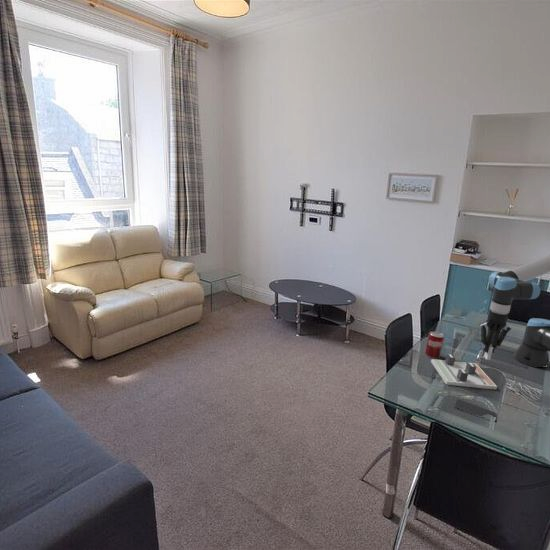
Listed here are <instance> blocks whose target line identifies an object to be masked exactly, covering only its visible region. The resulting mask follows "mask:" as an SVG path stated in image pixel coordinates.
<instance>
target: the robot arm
mask: <svg viewBox="0 0 550 550" xmlns="http://www.w3.org/2000/svg"><path fill="white" fill-rule="evenodd" d="M549 273H550V254H548V255H546V256H543V257H541V258H538V259H535V260H533V261H531V262H527V263H526V264H523V265H521V266H517V267H515V268H512V269H510V270H507V271H505V272H501V271H493V272H492V273H491V274H490V275H489V277H488V283H489V284H490V285H491V286H492V287H493V288H494V290H493V294H492V299H491V302H490V307H489V309H488V314H487V319H486V321H485V322H484V323H479V327H480V337H481V338H480V339H481V343H482V344H483V345H484V348H483V351H484V355H483V357H484V358H485V360H487V361H491V358H492V354H493V353H495V349H497V348H498V347H500V346H501V345H502V344H503V342H504V340H505V338H506V336H507V334H508V333H509V332H510V331H511V329H512V328H511V327H510V326H509V325H507V322H508V318H509V313H510V311H511V306H512V304H513V303H512V302H513V300H528V301H529V300H535V299H537V298H539V296H540V294H541V288H540V285H539V284H538V283H536V282H531V280H533V279H536V278H538V277H541V276H543V275H546V274H549ZM549 352H550V319H545V318H538V317H537V318H535V317H532V318H530V319H529V320H528V322H527V324H526V327H525V331H524V335H523V337H522V341H521V343H520V345H519V346H518V348H517V349H516V350H515V351H514V353H513V357H514V359H515V360H516V361H518V362H520V363H521V362H522V363H521V364H524V365H527V366H529V367H532V366H534V367H533V368H536V367H543V366H546V365H548V366H549V364H550V357H549Z"/></svg>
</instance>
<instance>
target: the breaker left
mask: <svg viewBox="0 0 550 550" xmlns="http://www.w3.org/2000/svg"><path fill="white" fill-rule="evenodd" d="M454 361H456V357H455V356H454V354H450V353H449V354H448V353H447V354H446V356H445V362H446V364H447V365H454Z"/></svg>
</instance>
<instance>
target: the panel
mask: <svg viewBox="0 0 550 550" xmlns="http://www.w3.org/2000/svg"><path fill="white" fill-rule="evenodd" d="M430 363H431V364H432V366H433V367H434V368H435V370H436V371H437V373H438V374H439V375H440V378H442V380H443V382H444V383H445V384H447V385H449V386H459V387H466V388H467V387H469V388H478V389H488V390H497V389H498V386H497V385H496V383H495V382H494V381H493V380H492V379H491V378H490V377H489V376H488V375H487V374H486V373H485V371H484V370H483V369H482V368H481V367H480V366H479V365H478V364H477V363H476V362H475V363H474V362H471V363H472V364H474V365H475V366H476V370H475V374H474V375H473V374H468V377H467V380H466V381H459V380H458V378H457V374H458V370H461V369H463V370H465V369H466V365H467V363H468V362H464V361H456V360H455V361H454V365H447V364H446V362H445V360H443V359H437V358H436V359H435V358H431V359H430Z"/></svg>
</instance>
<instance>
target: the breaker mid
mask: <svg viewBox="0 0 550 550" xmlns="http://www.w3.org/2000/svg"><path fill="white" fill-rule="evenodd" d="M466 363H467V365H466V369H465V370H466V372H467V373H468V374H473V375H474V374H475V370H476V366H475V365H474V364H472V363H473V362H466Z"/></svg>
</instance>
